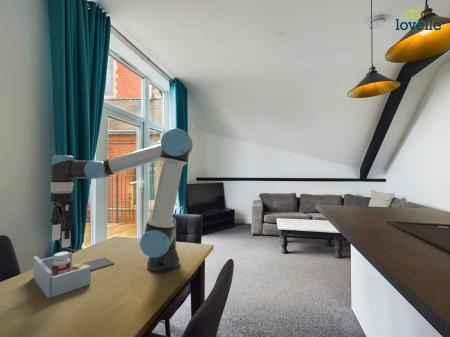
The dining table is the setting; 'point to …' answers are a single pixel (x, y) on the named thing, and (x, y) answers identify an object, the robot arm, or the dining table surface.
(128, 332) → the dining table surface
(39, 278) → the open box
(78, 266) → the offcut top
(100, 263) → the mat
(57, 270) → the pill bottle
